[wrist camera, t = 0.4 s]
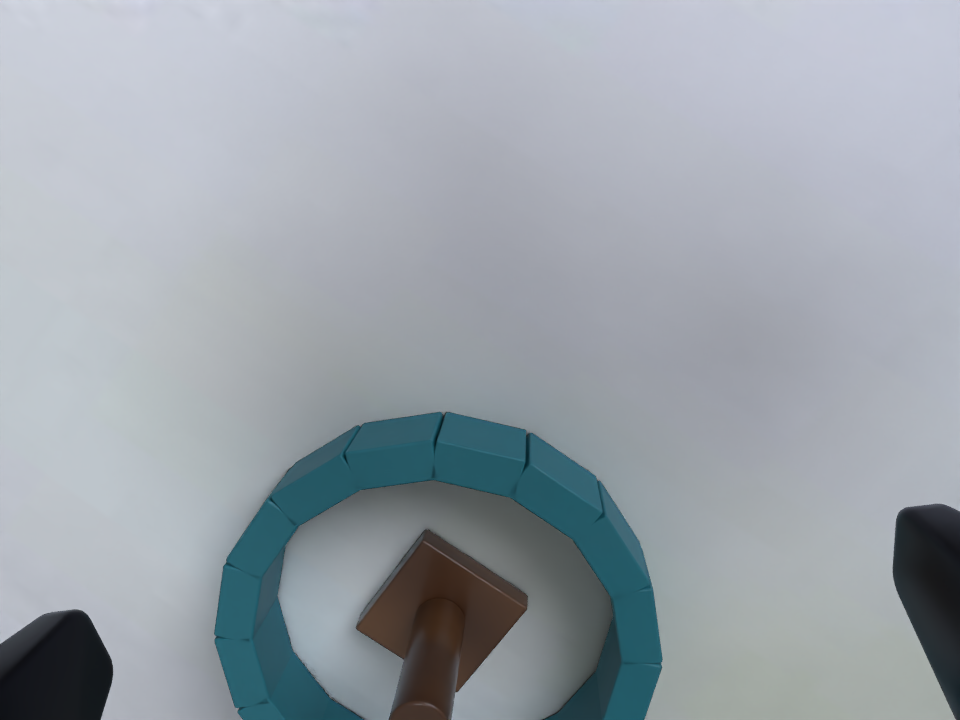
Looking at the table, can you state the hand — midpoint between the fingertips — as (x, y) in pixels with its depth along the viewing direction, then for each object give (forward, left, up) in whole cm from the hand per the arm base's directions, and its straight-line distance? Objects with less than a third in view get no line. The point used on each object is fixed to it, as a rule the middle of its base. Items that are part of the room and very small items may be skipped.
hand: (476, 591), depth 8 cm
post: (-9, -4, -14) cm, 17 cm away
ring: (-9, -4, -14) cm, 17 cm away
